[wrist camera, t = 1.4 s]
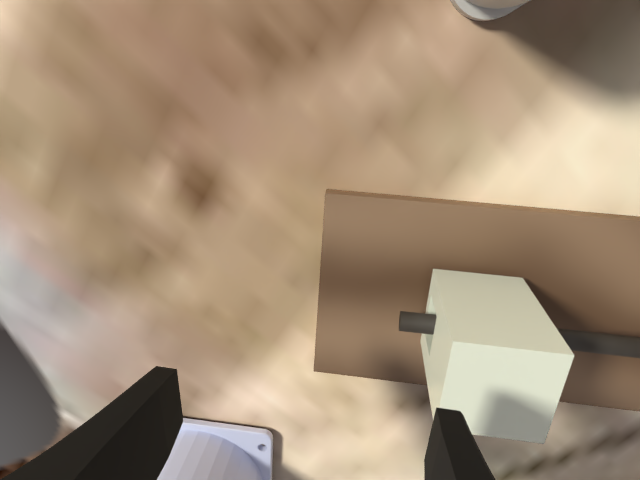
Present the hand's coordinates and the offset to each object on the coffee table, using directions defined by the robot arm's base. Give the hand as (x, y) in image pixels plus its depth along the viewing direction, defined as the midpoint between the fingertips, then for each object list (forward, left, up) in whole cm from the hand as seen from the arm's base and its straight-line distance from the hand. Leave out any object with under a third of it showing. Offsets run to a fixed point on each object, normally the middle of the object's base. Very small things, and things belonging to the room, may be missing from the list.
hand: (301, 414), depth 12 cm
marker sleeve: (-1, -6, -8) cm, 10 cm away
